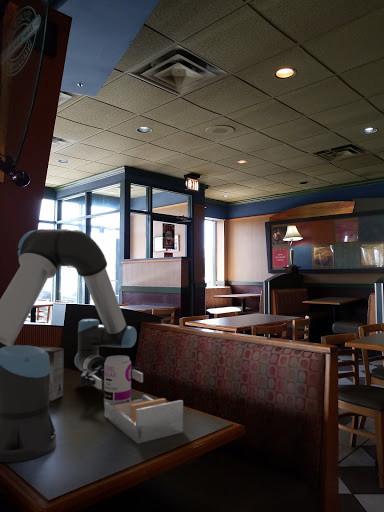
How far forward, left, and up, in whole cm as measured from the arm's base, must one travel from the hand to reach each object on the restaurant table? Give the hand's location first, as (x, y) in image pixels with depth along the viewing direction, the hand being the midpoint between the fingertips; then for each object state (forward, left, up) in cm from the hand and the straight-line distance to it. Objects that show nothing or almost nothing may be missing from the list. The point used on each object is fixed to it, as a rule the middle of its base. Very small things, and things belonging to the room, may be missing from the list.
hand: (121, 381), depth 121 cm
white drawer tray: (-5, -13, -9) cm, 16 cm away
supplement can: (+1, +3, -9) cm, 9 cm away
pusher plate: (-6, -17, -7) cm, 19 cm away
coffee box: (-7, +29, -9) cm, 31 cm away
